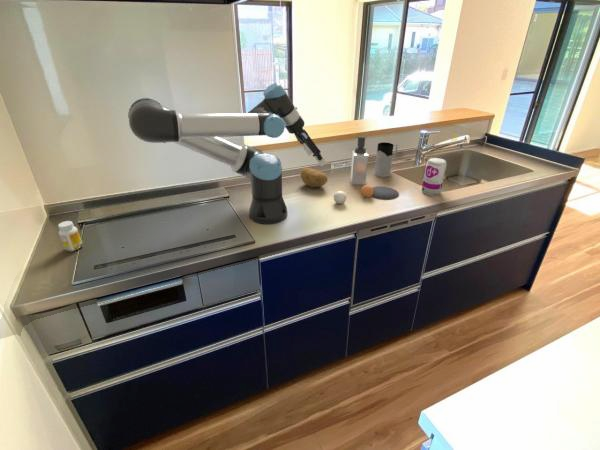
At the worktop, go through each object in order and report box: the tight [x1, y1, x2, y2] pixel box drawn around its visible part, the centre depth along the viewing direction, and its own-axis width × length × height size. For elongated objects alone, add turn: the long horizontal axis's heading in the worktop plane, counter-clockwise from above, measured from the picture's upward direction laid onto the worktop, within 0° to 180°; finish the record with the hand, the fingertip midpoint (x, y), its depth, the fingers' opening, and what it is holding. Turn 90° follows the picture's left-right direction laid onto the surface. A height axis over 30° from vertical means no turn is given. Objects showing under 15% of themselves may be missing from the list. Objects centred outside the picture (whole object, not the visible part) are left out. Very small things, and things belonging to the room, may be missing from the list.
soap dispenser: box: [350, 135, 369, 186], centre depth 162 cm, size 6×9×22 cm
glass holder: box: [373, 142, 398, 178], centre depth 174 cm, size 9×14×15 cm, turn 130°
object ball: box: [360, 184, 374, 198], centre depth 150 cm, size 6×6×6 cm
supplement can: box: [421, 157, 447, 196], centre depth 152 cm, size 8×8×15 cm
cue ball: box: [333, 190, 348, 205], centre depth 145 cm, size 6×6×6 cm
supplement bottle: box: [57, 220, 83, 251], centre depth 115 cm, size 5×5×10 cm
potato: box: [300, 167, 328, 188], centre depth 160 cm, size 10×14×8 cm
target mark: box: [370, 185, 400, 201], centre depth 155 cm, size 14×14×1 cm
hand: (317, 159), depth 151 cm, fingers open, 13 cm apart
